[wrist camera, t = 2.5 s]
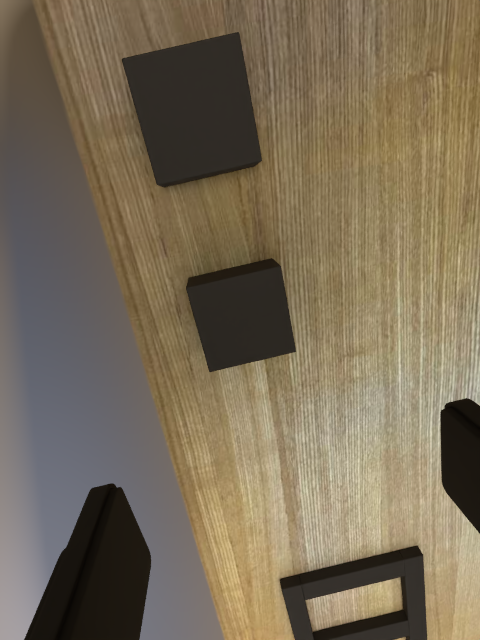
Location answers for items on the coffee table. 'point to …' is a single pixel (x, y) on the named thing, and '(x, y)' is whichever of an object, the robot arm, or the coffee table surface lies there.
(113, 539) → the robot arm
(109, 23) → the coffee table surface
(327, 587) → the black flat rectangular frame
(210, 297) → the dark brown square block
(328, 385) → the coffee table surface
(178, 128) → the black rectangular block
